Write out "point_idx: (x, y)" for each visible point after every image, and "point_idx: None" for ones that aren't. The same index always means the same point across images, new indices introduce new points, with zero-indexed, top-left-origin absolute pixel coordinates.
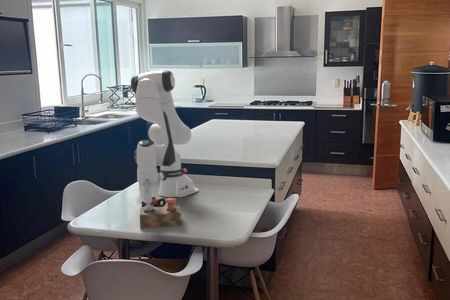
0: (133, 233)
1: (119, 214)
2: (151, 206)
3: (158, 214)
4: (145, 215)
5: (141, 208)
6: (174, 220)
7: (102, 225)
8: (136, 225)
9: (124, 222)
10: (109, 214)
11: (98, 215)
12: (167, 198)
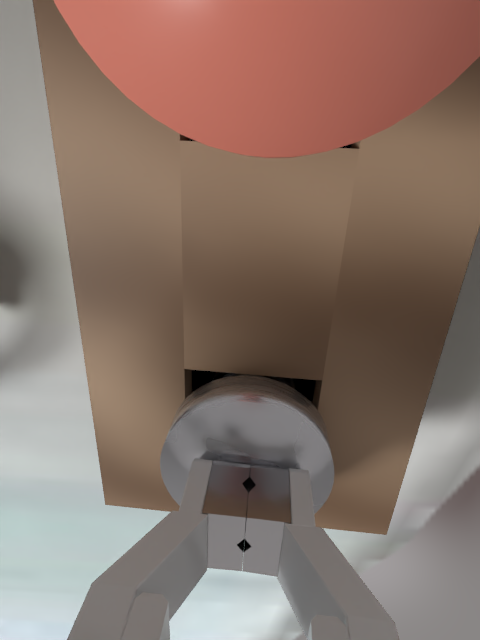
0: (464, 472)
1: (6, 523)
2: (221, 438)
3: (450, 314)
4: (398, 471)
5: (127, 496)
6: None
7: (222, 609)
8: None
9: None
10: (9, 569)
11: (31, 613)
12: (123, 61)
